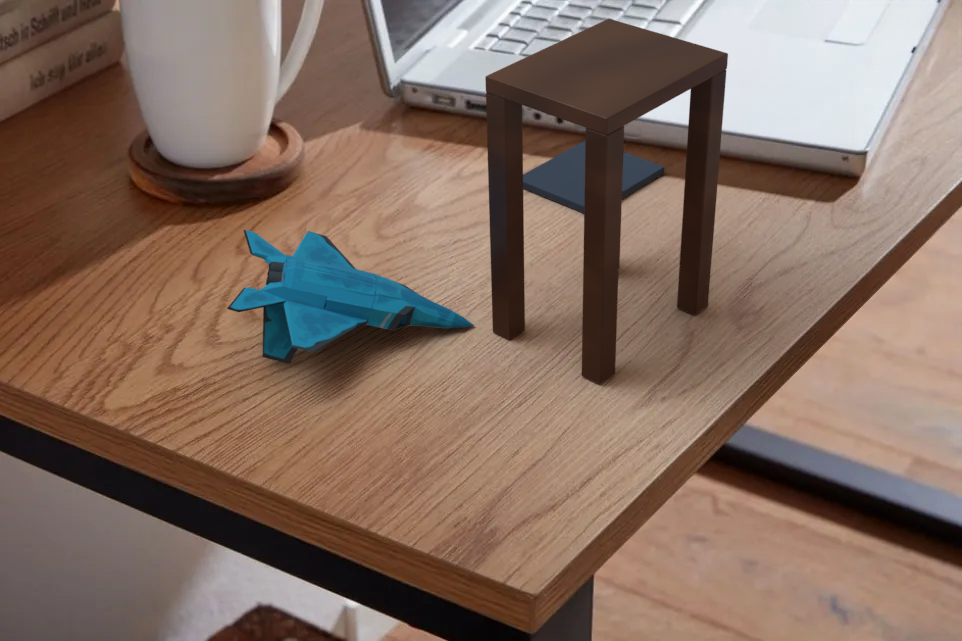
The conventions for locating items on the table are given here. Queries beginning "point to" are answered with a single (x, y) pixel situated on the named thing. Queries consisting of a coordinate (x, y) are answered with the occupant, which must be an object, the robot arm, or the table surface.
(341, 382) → the table surface
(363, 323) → the toy airplane
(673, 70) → the wooden stool
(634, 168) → the mat
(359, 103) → the table surface
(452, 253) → the table surface
